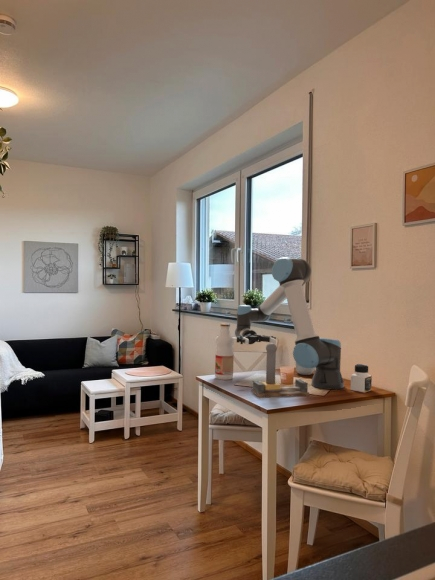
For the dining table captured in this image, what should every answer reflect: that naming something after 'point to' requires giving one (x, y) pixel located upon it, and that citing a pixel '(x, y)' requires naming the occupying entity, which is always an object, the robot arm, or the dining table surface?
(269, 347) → the post
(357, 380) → the medicine bottle
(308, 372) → the teacup
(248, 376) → the dining table surface
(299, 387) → the rail board
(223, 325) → the fruit juice
